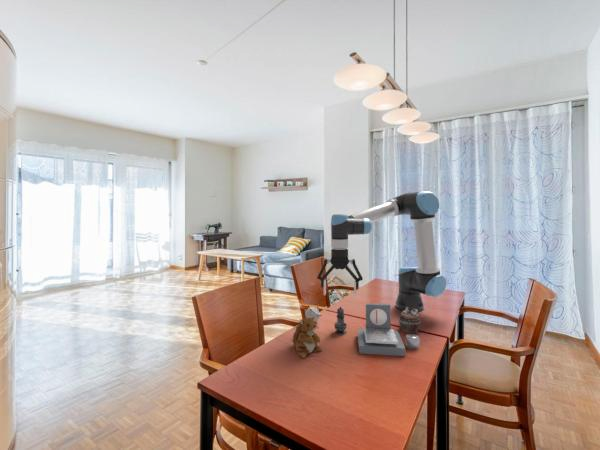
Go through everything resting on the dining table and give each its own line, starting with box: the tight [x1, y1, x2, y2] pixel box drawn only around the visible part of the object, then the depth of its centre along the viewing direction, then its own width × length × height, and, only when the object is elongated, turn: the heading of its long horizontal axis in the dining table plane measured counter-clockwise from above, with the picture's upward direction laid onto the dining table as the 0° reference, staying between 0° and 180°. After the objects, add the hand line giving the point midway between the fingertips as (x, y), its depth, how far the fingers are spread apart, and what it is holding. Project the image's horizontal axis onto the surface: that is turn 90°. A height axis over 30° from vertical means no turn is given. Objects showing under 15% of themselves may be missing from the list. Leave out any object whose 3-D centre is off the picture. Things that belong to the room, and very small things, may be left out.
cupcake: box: [398, 307, 422, 334], centre depth 134 cm, size 10×10×10 cm
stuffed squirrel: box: [291, 317, 323, 359], centre depth 116 cm, size 10×14×13 cm
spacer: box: [405, 333, 420, 350], centre depth 118 cm, size 5×5×4 cm
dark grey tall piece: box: [333, 306, 348, 336], centre depth 132 cm, size 6×6×12 cm
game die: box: [302, 305, 323, 325], centre depth 144 cm, size 9×8×10 cm
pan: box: [363, 327, 398, 344], centre depth 117 cm, size 12×12×2 cm
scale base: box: [357, 302, 406, 357], centre depth 118 cm, size 17×16×15 cm
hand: (339, 295), depth 132 cm, fingers open, 13 cm apart
